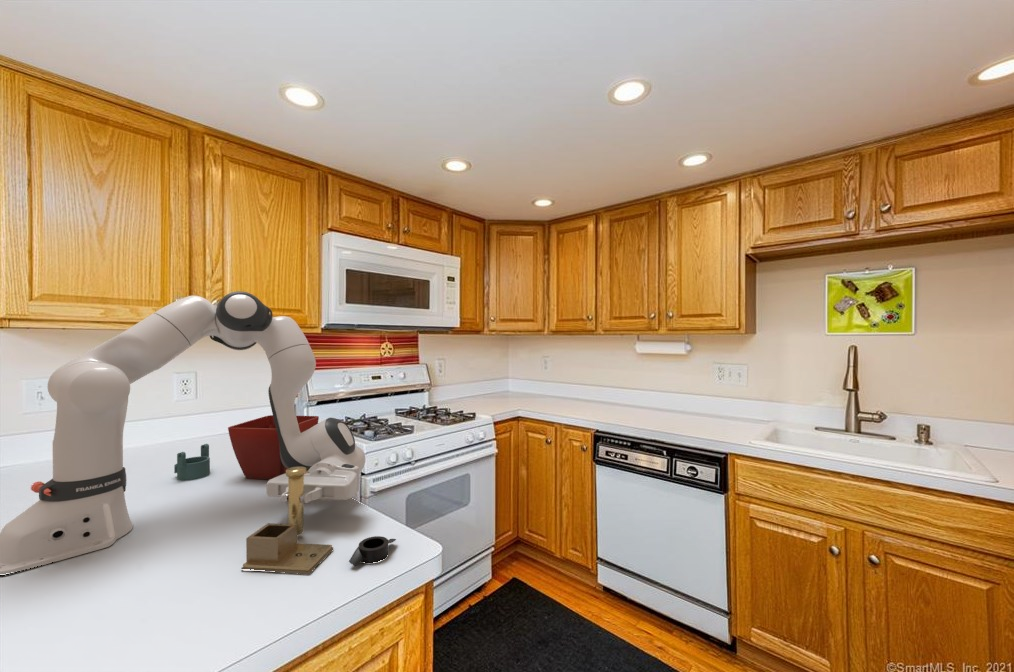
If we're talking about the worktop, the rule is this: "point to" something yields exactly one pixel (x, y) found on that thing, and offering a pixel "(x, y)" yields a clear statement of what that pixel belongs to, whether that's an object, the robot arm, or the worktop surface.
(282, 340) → the robot arm
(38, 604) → the worktop surface
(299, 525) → the hinge pin
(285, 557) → the brass socket plate
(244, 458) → the plant pot
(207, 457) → the bracket
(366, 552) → the black ring with tabs
